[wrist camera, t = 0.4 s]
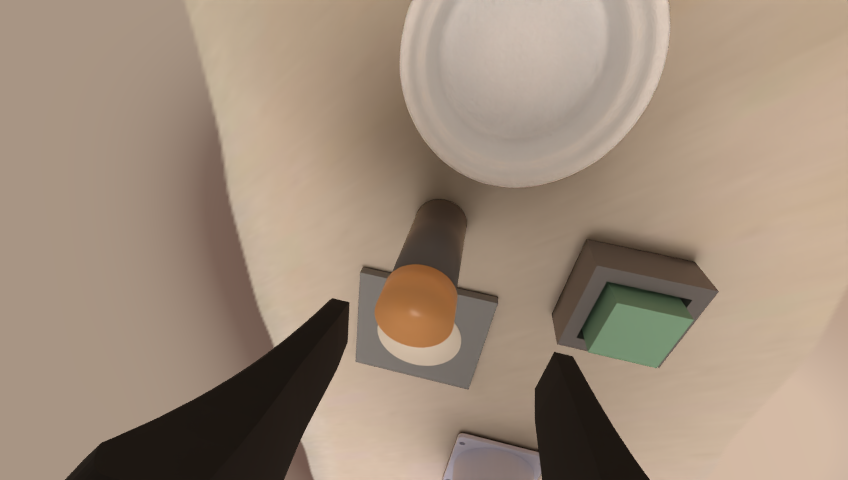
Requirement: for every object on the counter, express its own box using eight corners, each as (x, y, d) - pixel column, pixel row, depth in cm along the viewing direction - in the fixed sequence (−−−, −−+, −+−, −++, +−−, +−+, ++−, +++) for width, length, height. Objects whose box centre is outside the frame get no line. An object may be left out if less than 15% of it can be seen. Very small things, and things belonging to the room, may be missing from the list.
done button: (641, 334, 21) (656, 368, 19) (579, 320, 21) (587, 352, 19) (673, 287, 19) (694, 320, 17) (604, 273, 19) (616, 303, 17)
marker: (462, 250, 22) (446, 355, 15) (411, 239, 22) (372, 337, 15) (473, 204, 20) (460, 298, 13) (417, 192, 20) (377, 279, 13)
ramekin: (470, 182, 19) (464, 219, 16) (385, 13, 16) (351, 12, 12) (651, 102, 16) (696, 127, 12) (591, -134, 12) (629, -198, 9)
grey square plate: (468, 382, 28) (468, 390, 27) (358, 355, 28) (355, 362, 28) (497, 297, 23) (497, 304, 22) (363, 267, 24) (359, 273, 23)
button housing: (644, 335, 22) (659, 367, 20) (551, 314, 23) (557, 344, 21) (694, 261, 19) (718, 291, 17) (586, 239, 20) (597, 265, 18)
